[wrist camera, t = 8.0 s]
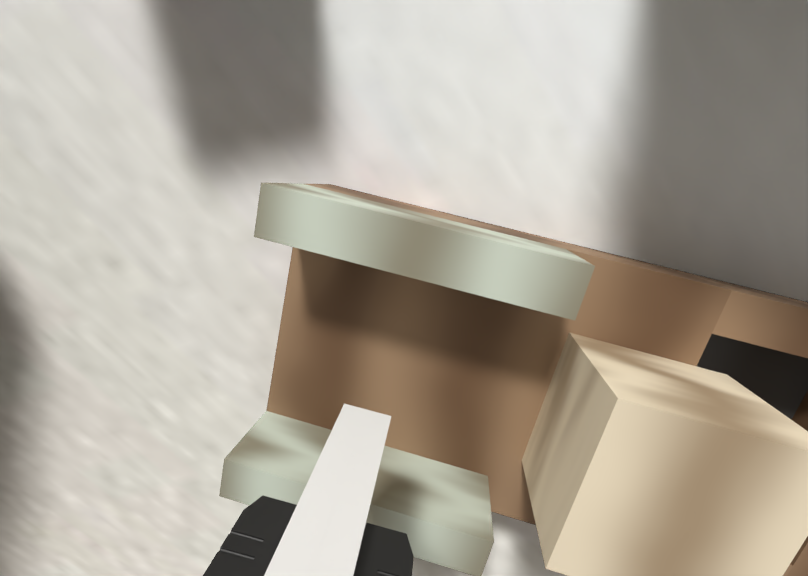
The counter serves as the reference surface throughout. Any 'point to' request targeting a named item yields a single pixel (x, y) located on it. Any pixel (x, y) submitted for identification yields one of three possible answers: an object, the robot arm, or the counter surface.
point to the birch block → (662, 470)
